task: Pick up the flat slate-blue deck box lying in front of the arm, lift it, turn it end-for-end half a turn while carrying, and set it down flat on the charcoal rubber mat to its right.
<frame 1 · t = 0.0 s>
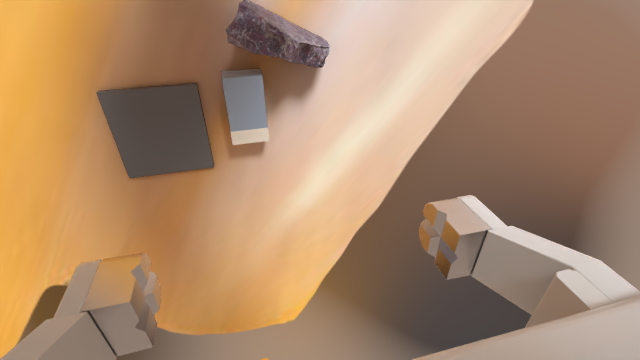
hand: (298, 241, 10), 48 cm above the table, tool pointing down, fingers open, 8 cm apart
deck: (245, 102, 56), on the table
mat: (161, 131, 55), on the table
stone: (276, 36, 52), on the table
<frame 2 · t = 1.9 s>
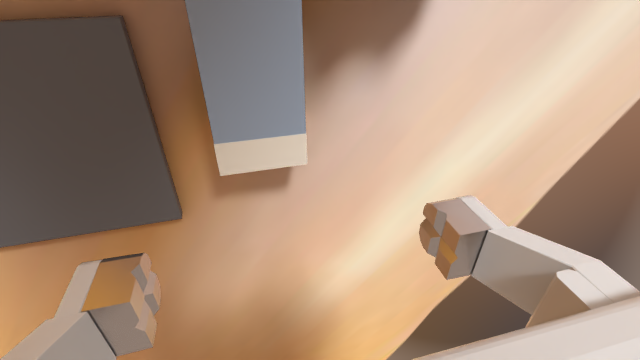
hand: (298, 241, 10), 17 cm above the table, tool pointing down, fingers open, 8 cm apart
deck: (250, 73, 23), on the table
mat: (46, 143, 22), on the table
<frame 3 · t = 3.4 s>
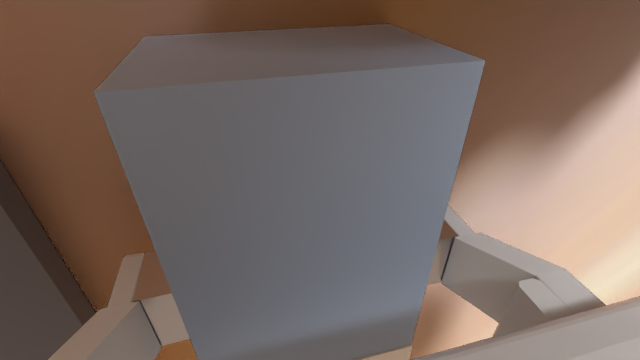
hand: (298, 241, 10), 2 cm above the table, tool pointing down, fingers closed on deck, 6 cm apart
deck: (288, 204, 11), on the table, touching gripper
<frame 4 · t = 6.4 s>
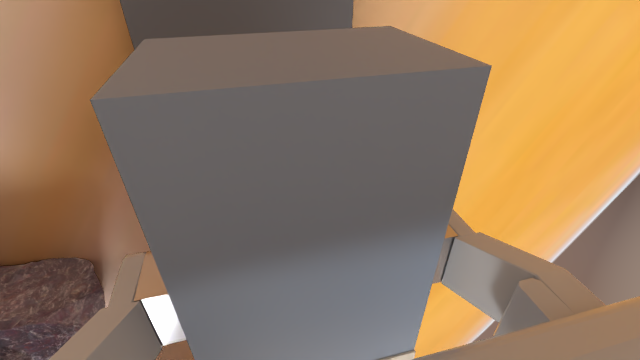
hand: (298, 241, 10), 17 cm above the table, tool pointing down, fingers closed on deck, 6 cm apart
deck: (289, 208, 11), point 16 cm above the table, touching gripper
mat: (253, 75, 24), on the table
stone: (22, 275, 28), on the table
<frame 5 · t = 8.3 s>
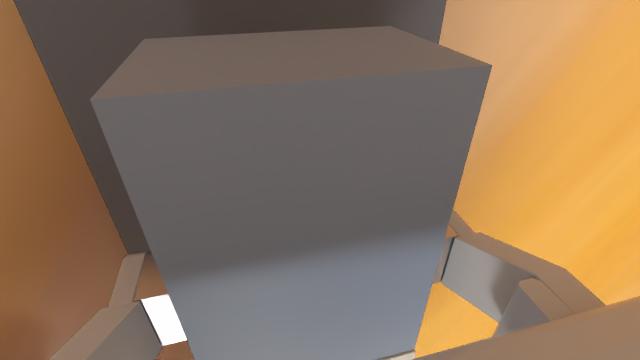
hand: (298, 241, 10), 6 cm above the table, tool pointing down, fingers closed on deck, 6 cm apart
deck: (289, 208, 11), point 5 cm above the table, touching gripper
mat: (272, 148, 15), on the table
when the fingers open (4 cm above the table, at t = 9.4 s): deck drops 1 cm, resting on mat.
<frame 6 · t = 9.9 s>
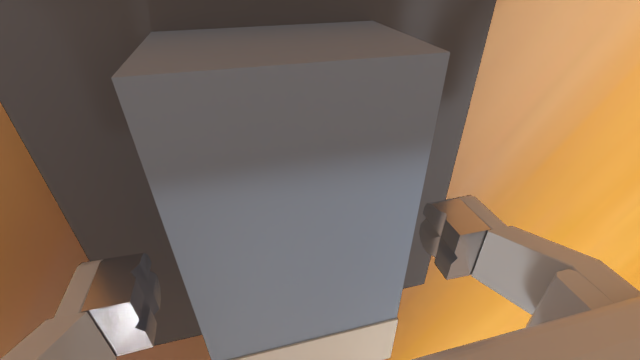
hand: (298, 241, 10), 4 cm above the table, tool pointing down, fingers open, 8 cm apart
deck: (283, 190, 12), point 1 cm above the table, touching mat
mat: (280, 176, 13), on the table
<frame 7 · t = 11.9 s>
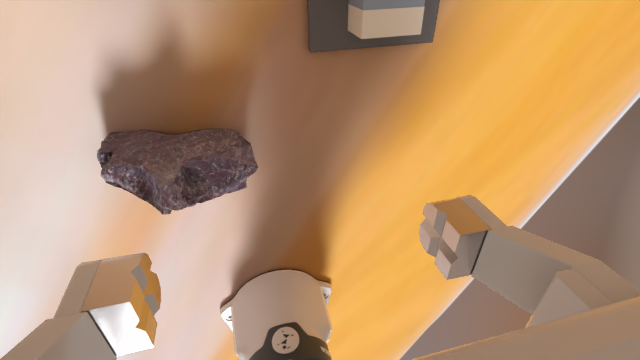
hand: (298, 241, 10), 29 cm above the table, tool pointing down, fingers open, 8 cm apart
stone: (184, 145, 38), on the table
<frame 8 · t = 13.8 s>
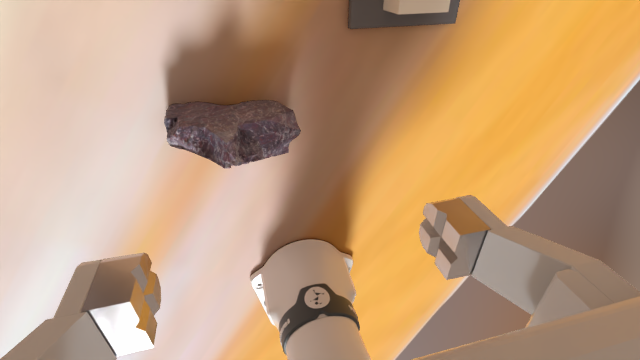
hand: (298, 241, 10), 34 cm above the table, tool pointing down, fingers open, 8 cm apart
stone: (232, 116, 43), on the table
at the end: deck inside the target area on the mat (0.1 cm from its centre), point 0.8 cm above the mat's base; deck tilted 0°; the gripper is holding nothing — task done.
